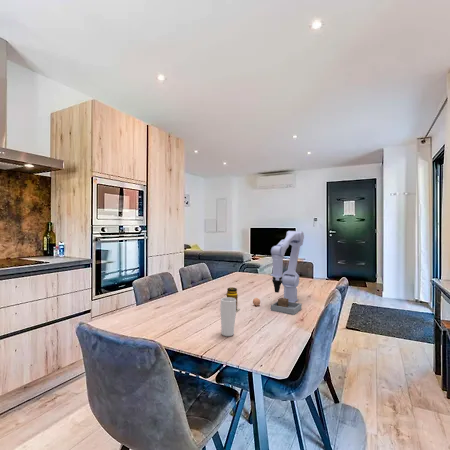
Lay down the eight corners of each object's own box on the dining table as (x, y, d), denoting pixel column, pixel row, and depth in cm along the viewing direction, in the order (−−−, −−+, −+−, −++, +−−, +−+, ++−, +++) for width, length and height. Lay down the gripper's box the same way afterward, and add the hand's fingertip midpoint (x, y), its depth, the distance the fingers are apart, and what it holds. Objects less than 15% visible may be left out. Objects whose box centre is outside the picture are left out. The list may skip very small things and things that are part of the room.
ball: (254, 304, 168) (254, 296, 168) (261, 305, 165) (261, 297, 165) (251, 305, 164) (251, 298, 164) (258, 307, 162) (258, 299, 162)
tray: (279, 305, 167) (279, 299, 167) (301, 309, 160) (301, 303, 160) (270, 310, 156) (271, 305, 156) (293, 315, 149) (293, 309, 149)
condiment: (234, 313, 150) (234, 290, 150) (220, 310, 154) (220, 288, 154) (240, 309, 157) (240, 287, 156) (226, 306, 161) (227, 285, 161)
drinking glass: (235, 331, 125) (235, 297, 124) (236, 337, 118) (237, 301, 118) (219, 331, 124) (220, 297, 124) (219, 337, 118) (220, 301, 117)
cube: (280, 305, 165) (281, 297, 165) (288, 306, 162) (288, 298, 162) (277, 307, 161) (278, 299, 161) (285, 308, 158) (285, 300, 158)
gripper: (270, 264, 170) (270, 287, 170) (270, 268, 156) (269, 293, 156) (282, 265, 169) (282, 288, 169) (283, 269, 154) (282, 294, 154)
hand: (276, 290), depth 162 cm, fingers open, 7 cm apart
